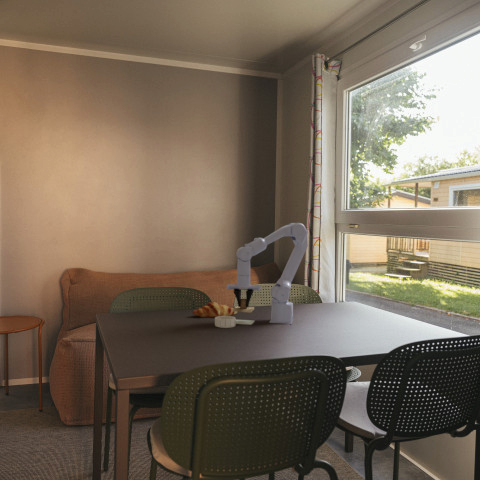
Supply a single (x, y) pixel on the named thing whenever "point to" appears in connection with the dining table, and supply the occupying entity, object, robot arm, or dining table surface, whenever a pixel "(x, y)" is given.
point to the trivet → (245, 322)
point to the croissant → (214, 310)
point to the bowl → (225, 321)
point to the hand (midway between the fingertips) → (243, 306)
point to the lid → (243, 307)
